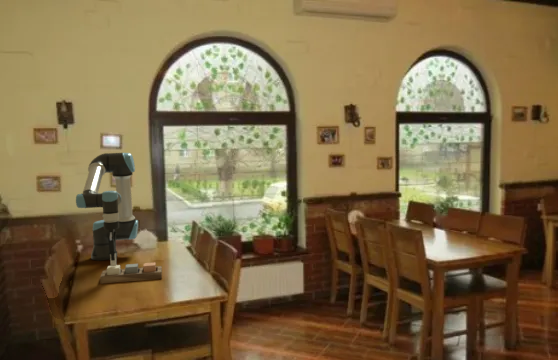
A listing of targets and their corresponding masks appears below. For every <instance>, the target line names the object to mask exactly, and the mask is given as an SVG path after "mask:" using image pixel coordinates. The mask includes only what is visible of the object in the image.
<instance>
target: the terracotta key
mask: <svg viewBox="0 0 558 360" xmlns="http://www.w3.org/2000/svg"><path fill="white" fill-rule="evenodd" d="M156 266H157V263H156V262H155V261H154V262H145V263H144V262H143V268H144V272H154V271H156Z"/></svg>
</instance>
